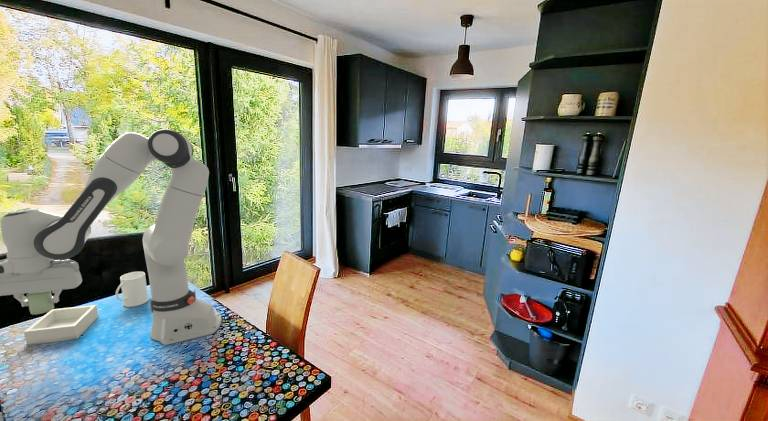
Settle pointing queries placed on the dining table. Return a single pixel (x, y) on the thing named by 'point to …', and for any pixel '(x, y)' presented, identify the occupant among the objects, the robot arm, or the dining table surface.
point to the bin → (61, 325)
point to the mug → (133, 289)
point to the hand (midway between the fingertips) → (41, 303)
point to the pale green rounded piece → (39, 302)
